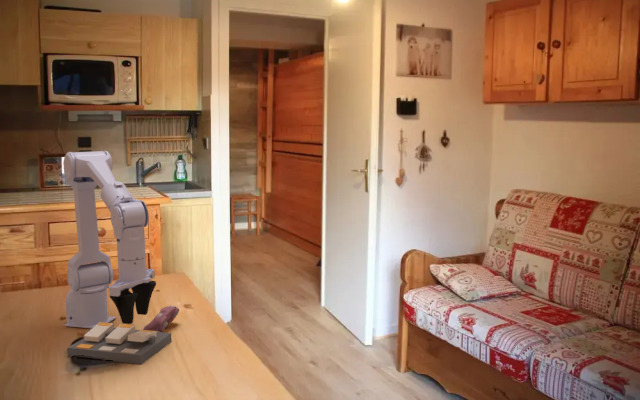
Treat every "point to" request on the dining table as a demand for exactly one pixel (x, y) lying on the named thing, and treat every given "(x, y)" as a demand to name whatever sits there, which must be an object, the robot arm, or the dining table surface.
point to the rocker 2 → (120, 334)
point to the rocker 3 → (141, 335)
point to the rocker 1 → (98, 331)
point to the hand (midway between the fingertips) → (135, 318)
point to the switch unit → (121, 348)
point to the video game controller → (162, 319)
